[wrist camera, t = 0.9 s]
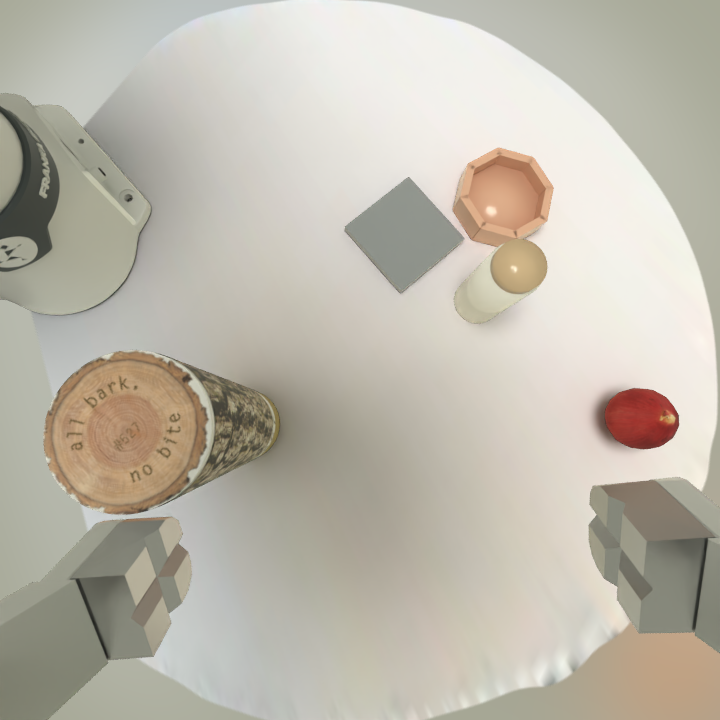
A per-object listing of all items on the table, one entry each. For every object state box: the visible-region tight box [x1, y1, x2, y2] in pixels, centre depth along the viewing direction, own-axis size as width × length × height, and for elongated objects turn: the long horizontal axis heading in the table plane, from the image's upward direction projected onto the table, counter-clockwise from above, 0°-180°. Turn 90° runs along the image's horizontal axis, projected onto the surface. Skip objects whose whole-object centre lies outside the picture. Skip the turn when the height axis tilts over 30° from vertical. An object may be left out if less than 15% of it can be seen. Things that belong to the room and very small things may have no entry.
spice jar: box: [454, 239, 547, 324], centre depth 41 cm, size 5×5×11 cm
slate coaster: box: [345, 177, 465, 293], centre depth 46 cm, size 9×9×1 cm
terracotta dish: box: [453, 148, 553, 247], centre depth 46 cm, size 9×9×3 cm
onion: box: [605, 388, 679, 449], centre depth 41 cm, size 6×6×8 cm
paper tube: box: [43, 350, 280, 515], centre depth 30 cm, size 7×7×25 cm
